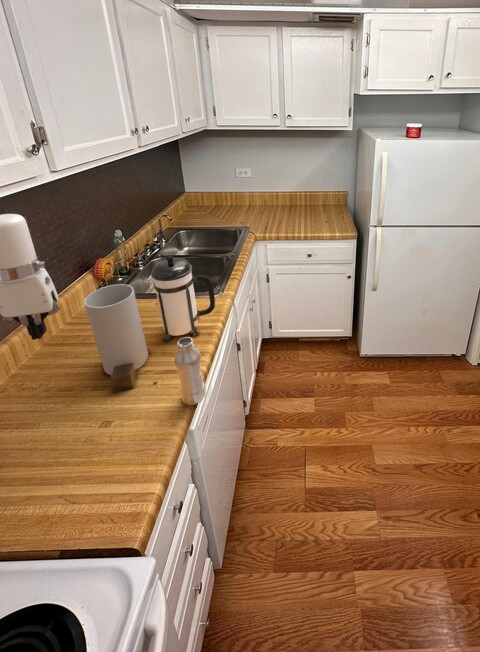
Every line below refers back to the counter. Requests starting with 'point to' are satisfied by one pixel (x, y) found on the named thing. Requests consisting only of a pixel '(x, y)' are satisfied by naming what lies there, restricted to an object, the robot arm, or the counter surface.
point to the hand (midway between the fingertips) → (39, 335)
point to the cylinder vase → (117, 326)
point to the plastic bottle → (190, 372)
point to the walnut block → (123, 377)
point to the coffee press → (178, 296)
